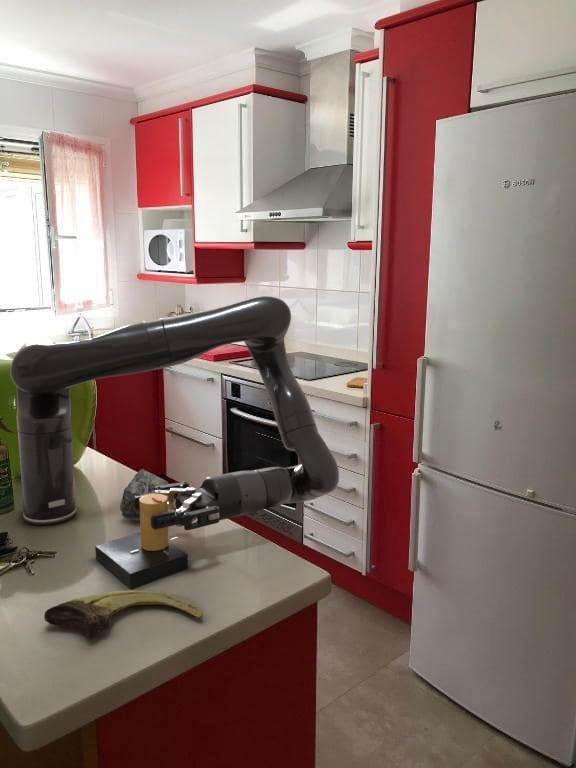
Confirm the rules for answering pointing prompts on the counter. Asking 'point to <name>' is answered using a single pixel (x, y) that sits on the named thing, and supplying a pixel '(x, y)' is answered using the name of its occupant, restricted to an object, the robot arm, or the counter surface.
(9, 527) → the counter surface
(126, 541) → the panel
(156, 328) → the robot arm
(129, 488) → the stone
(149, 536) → the tan cylinder
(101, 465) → the counter surface
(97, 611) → the claw
